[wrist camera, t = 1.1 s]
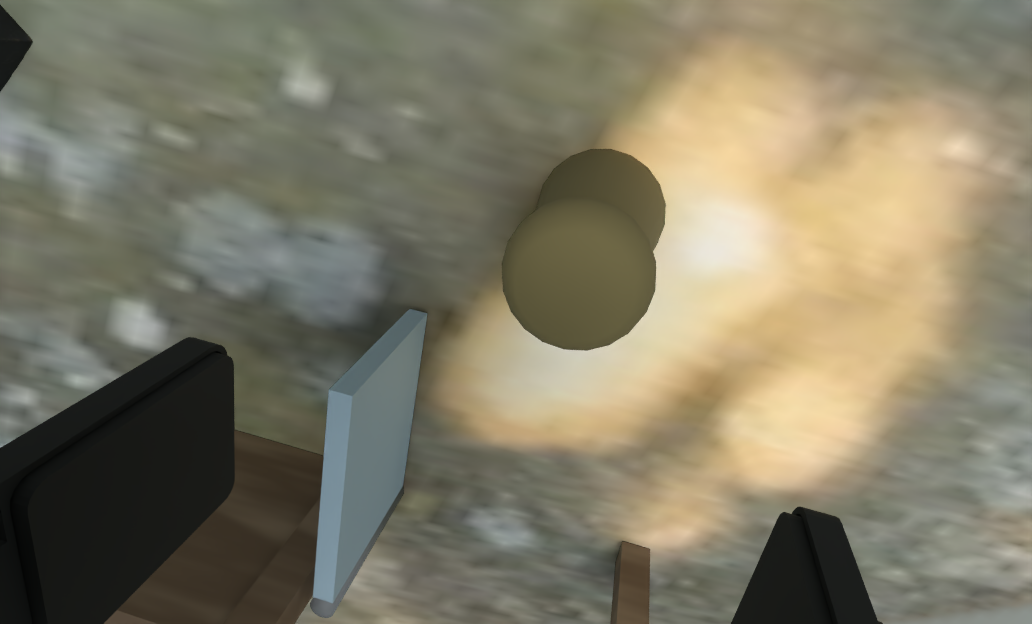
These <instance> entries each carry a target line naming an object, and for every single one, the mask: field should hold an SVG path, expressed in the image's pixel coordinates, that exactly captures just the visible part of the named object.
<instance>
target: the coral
mask: <svg viewBox="0 0 1032 624" xmlns="http://www.w3.org/2000/svg"><path fill="white" fill-rule="evenodd" d="M31 43H32V40H31V38H30V37H29V36H28V35H27V34H26V33H25V31H24V30H23V29H22V28H21V27H20V26H19V25H18V24H17V23H16V21H15V20H14V19H13V18H12V17H11V16H10V15H9V14H8V13H7V12H6V11H5V10H4V8H3V7H2V6H1V5H0V91H1V90H2V88H3V87H4V86H5V84H6V83H7V81H8V80H9V79H10V77H11V75H12V73H13V72H14V70H15V69H16V68H17V67H18V65H19V63H20V62H21V61H22V59H23V57H24V55H25V53H26V52H27V50H28V49H29V48H30V46H31Z"/></svg>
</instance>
